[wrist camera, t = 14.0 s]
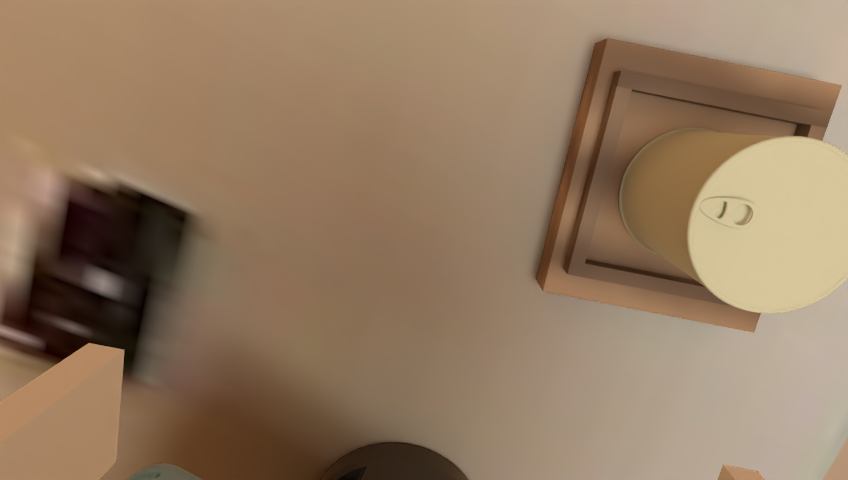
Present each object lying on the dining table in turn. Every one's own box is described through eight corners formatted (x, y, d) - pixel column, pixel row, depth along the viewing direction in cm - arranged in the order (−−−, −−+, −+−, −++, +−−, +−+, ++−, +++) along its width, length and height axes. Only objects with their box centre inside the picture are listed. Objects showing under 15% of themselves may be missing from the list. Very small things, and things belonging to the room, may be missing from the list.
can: (646, 111, 38) (735, 111, 26) (773, 148, 38) (919, 166, 26) (599, 237, 40) (663, 290, 28) (720, 272, 40) (833, 339, 29)
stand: (733, 317, 44) (765, 340, 40) (536, 279, 44) (546, 297, 40) (812, 87, 40) (858, 84, 36) (595, 43, 40) (614, 35, 35)
